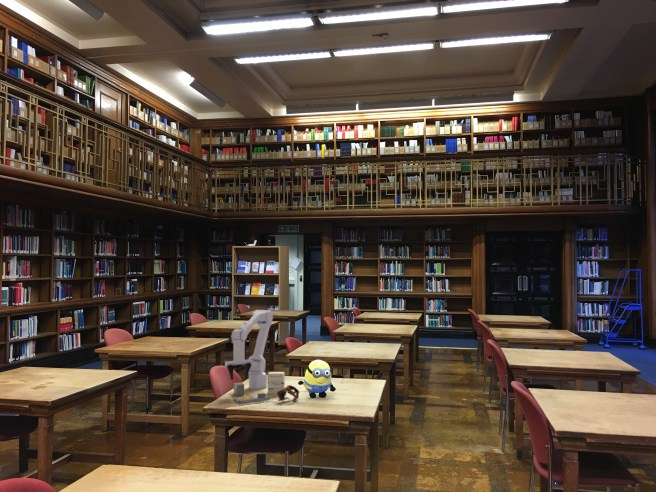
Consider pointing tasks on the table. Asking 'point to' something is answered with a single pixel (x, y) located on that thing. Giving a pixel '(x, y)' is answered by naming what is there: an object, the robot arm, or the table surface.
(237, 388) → the plug
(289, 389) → the brown curved arch
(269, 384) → the ink box
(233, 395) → the deck
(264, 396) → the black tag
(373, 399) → the table surface
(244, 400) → the socket panel
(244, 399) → the brass tag
